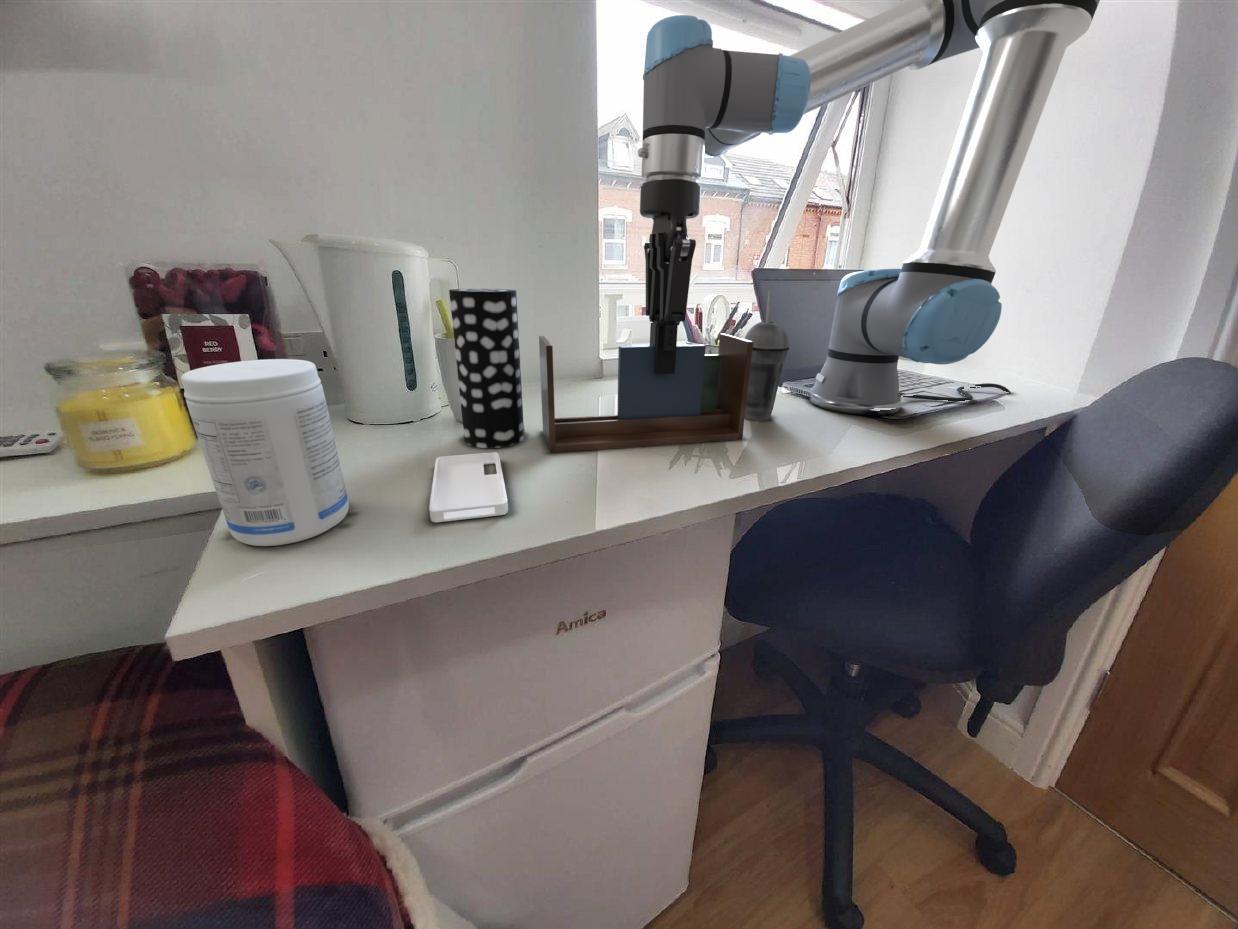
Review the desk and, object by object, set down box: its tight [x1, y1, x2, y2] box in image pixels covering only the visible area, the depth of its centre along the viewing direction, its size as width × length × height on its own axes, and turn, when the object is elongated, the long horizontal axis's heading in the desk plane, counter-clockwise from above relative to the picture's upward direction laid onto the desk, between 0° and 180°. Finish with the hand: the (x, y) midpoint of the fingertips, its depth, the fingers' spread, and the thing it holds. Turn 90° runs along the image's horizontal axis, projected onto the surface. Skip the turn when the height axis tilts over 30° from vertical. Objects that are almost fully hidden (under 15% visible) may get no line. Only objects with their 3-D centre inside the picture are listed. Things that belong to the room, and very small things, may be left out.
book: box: [616, 322, 707, 420], centre depth 70 cm, size 12×2×15 cm, turn 104°
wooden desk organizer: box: [538, 333, 753, 454], centre depth 70 cm, size 28×9×14 cm, turn 104°
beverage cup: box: [744, 290, 790, 422], centre depth 80 cm, size 7×7×20 cm
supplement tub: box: [180, 358, 350, 547], centre depth 44 cm, size 10×10×15 cm
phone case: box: [428, 452, 509, 523], centre depth 54 cm, size 7×1×15 cm
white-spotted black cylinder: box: [448, 288, 525, 449], centre depth 67 cm, size 8×8×20 cm
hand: (661, 371), depth 70 cm, fingers closed on book, 2 cm apart
